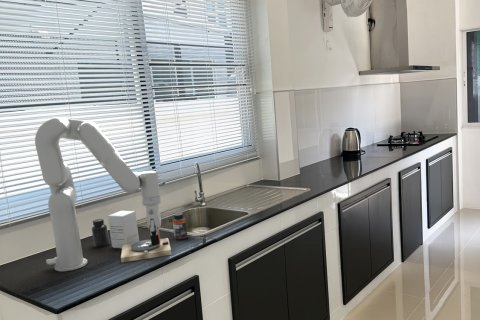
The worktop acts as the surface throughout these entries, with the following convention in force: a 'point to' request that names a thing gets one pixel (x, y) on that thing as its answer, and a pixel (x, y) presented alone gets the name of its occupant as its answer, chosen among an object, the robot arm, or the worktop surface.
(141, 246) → the dial
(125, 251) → the board
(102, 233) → the supplement bottle
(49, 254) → the worktop surface
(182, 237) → the supplement bottle
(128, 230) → the supplement box
